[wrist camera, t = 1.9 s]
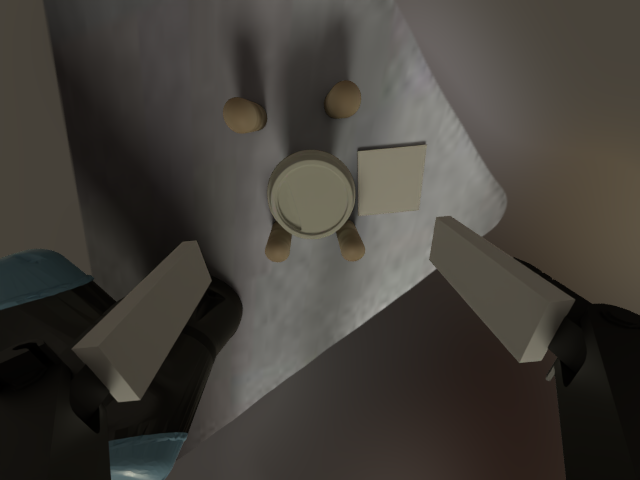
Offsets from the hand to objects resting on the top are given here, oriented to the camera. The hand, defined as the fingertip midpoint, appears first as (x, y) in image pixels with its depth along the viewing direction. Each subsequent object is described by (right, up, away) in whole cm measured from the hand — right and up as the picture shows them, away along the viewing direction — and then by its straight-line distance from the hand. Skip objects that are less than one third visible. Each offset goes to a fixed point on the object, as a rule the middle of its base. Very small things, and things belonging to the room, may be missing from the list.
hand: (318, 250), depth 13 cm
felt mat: (+10, +9, +19) cm, 23 cm away
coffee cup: (-1, +9, +19) cm, 21 cm away
